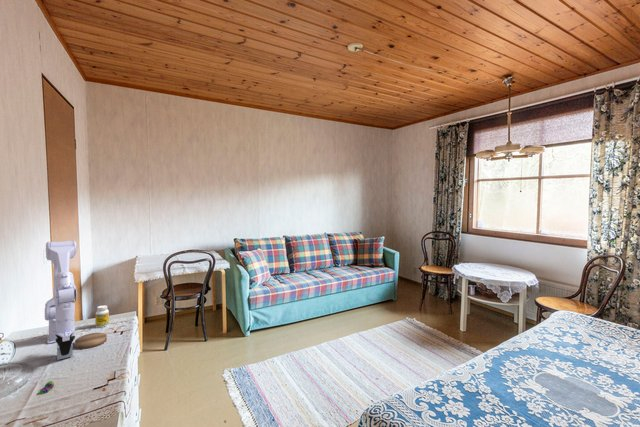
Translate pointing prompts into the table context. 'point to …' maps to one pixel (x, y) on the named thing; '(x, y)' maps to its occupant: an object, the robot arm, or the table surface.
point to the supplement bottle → (102, 316)
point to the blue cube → (64, 355)
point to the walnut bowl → (90, 340)
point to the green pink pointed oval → (46, 388)
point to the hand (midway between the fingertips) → (64, 352)
